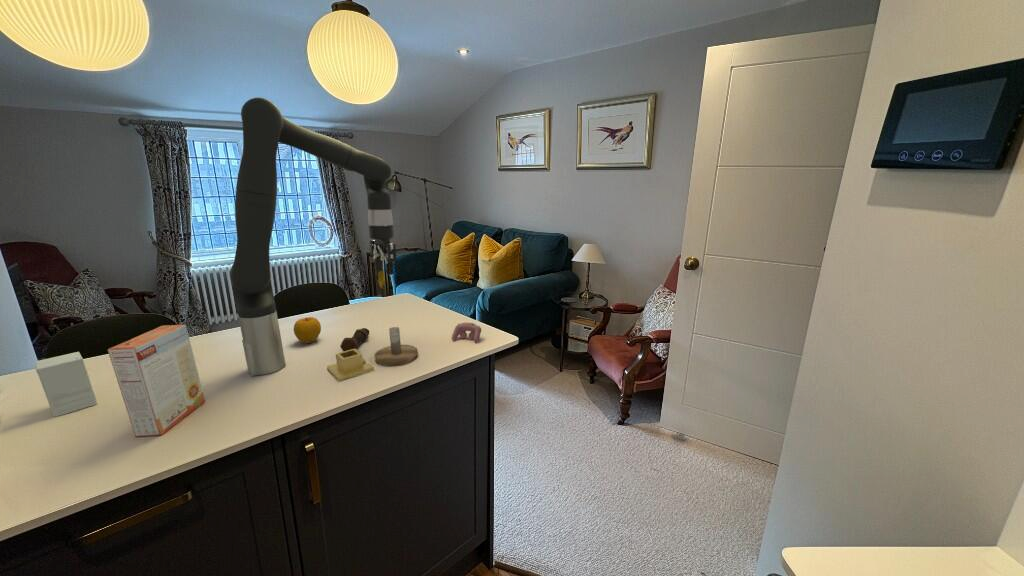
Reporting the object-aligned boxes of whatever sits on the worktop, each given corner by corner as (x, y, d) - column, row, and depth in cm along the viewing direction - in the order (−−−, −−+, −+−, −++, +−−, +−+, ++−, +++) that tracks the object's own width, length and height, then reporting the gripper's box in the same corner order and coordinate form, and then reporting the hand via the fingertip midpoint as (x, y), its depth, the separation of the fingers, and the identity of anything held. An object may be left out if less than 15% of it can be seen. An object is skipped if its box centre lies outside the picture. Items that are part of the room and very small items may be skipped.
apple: (312, 347, 130) (308, 322, 127) (289, 346, 131) (285, 321, 129) (327, 338, 138) (324, 314, 136) (306, 336, 139) (302, 313, 137)
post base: (417, 363, 116) (414, 334, 114) (372, 368, 114) (369, 338, 111) (418, 347, 129) (416, 320, 126) (378, 350, 126) (375, 323, 124)
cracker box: (181, 403, 96) (161, 324, 91) (206, 402, 96) (188, 323, 91) (131, 438, 82) (105, 347, 77) (161, 436, 83) (136, 346, 78)
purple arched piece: (481, 344, 135) (483, 324, 136) (476, 342, 130) (479, 322, 132) (455, 341, 137) (457, 322, 139) (450, 340, 133) (452, 320, 134)
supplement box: (94, 395, 100) (80, 350, 97) (97, 404, 96) (83, 358, 93) (51, 407, 95) (35, 360, 92) (52, 418, 90) (35, 369, 87)
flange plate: (338, 381, 106) (336, 364, 105) (327, 369, 113) (325, 353, 112) (374, 370, 113) (372, 354, 111) (361, 359, 120) (359, 344, 119)
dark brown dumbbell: (368, 341, 139) (352, 357, 125) (355, 334, 139) (337, 350, 124) (375, 328, 138) (359, 342, 124) (362, 321, 138) (345, 335, 123)
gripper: (360, 223, 127) (364, 270, 131) (379, 225, 117) (383, 277, 121) (382, 222, 132) (385, 268, 136) (401, 224, 122) (404, 274, 126)
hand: (384, 272), depth 128 cm, fingers open, 8 cm apart
